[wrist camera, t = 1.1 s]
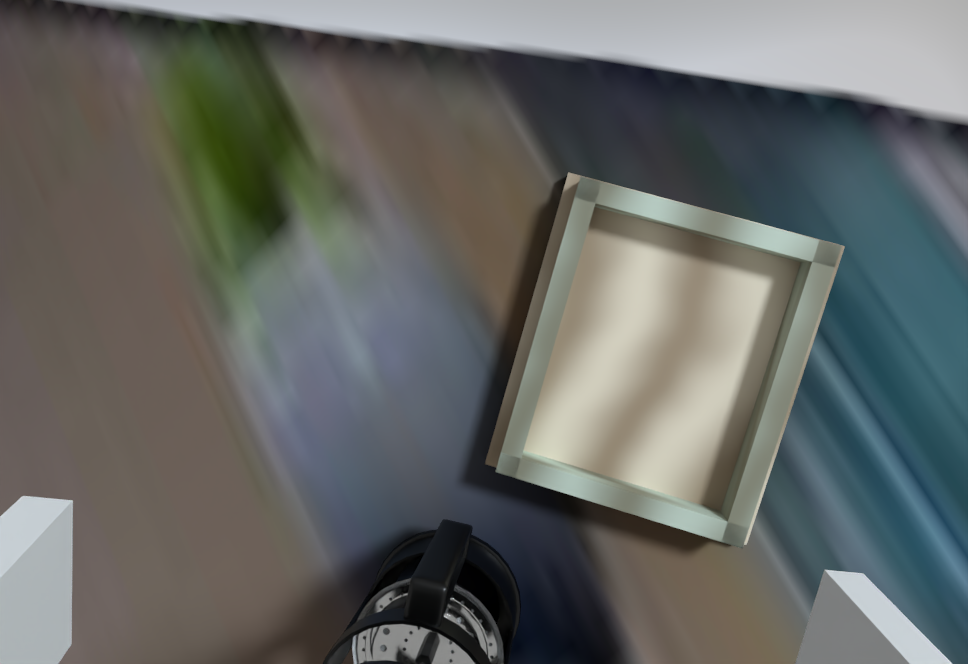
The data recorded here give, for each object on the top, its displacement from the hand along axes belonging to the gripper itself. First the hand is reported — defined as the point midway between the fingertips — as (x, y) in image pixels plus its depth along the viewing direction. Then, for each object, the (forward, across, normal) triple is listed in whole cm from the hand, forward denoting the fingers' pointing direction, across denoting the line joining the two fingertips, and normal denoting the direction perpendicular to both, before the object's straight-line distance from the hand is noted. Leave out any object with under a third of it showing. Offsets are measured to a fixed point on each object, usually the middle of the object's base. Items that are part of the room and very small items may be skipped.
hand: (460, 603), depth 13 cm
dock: (+29, +14, -3) cm, 33 cm away
